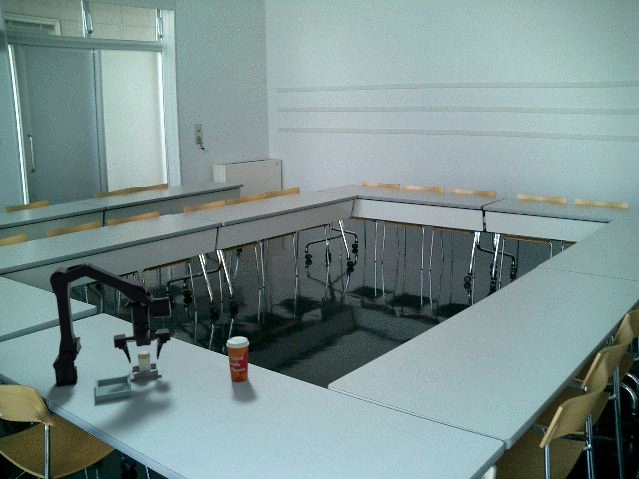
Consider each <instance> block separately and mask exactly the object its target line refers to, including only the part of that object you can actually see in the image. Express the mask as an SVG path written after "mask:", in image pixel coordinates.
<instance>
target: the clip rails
mask: <svg viewBox="0 0 639 479" xmlns="http://www.w3.org/2000/svg"><path fill="white" fill-rule="evenodd" d="M150 363H151V370H147V371H141V372H139V363H138V364H133V365H132V369H131V370H129V371H128V373H129V376H130V382H135V381H140V380H141V381H142V380H147V379H148V378H149V379H153V378H154V377H155V378H159V377H160V378H161V376H162V377H163V374H162V370H161V367H160V366H159V365H157V362H156V361H153V362H150Z"/></svg>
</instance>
